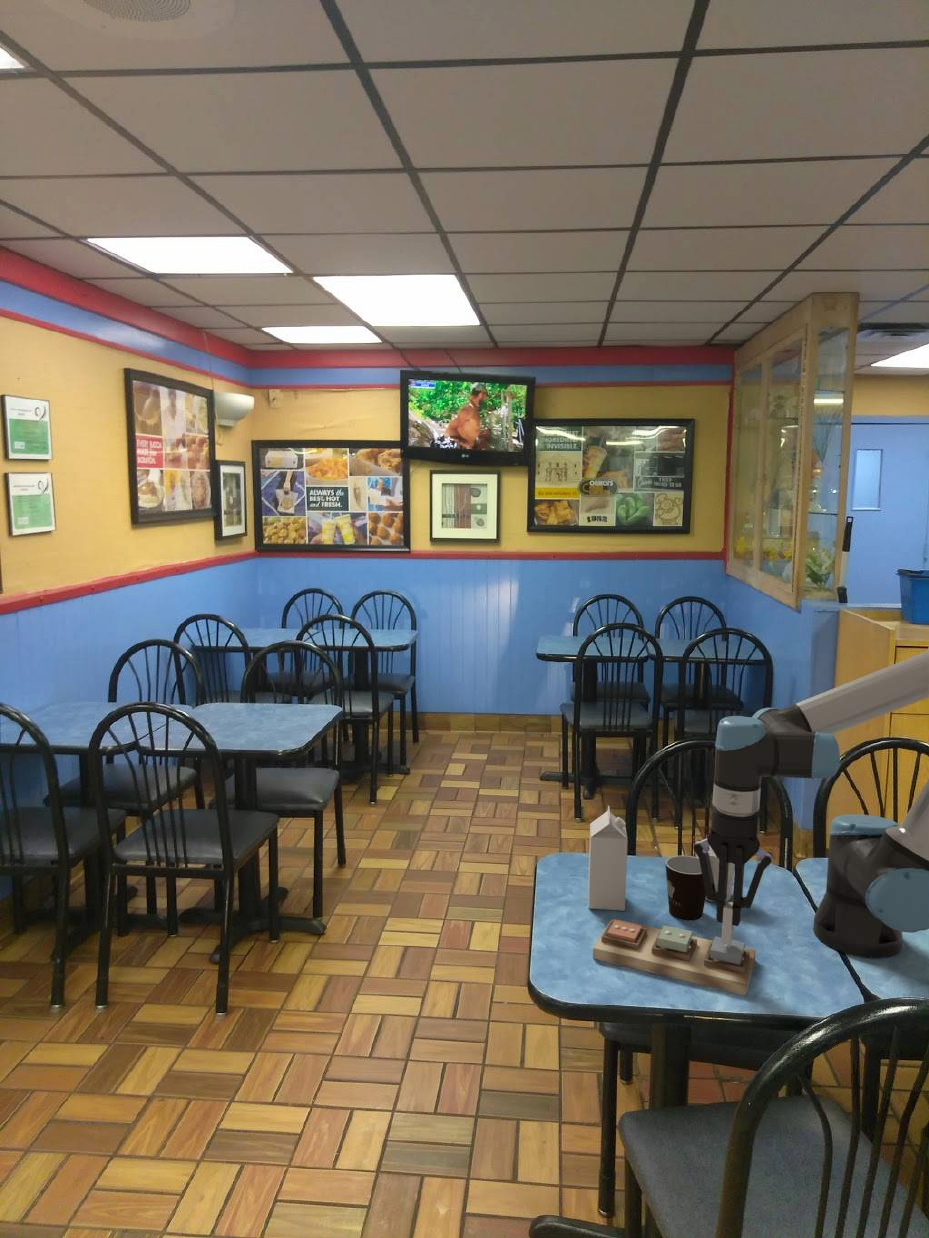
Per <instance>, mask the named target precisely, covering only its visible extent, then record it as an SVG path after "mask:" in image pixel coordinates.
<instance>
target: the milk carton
mask: <svg viewBox="0 0 929 1238" xmlns="http://www.w3.org/2000/svg"><path fill="white" fill-rule="evenodd" d="M626 825H627V823H626V822H625V820H624V819H622V818H621V817H620V816H617V817H616V816H615V815H614V814H613V813H612V812H611V811H610V805H607V810H606V812H604V813H603V814H601V815H600V816H599V817H597V818H596V819H595V820H593V821H592V822H591V823H590V825H589V844H588V845H589V846H588V847H589V848H588V849H589V850H588V852H589V853H588V854H589V855H588V879H587V880H588V882H587V901H588V903H587V904H588V909H593V910H605V911H606V910H608V911H609V910H610V911H623V912H624V911H626V893H627V863H628V861H627V860H628V843H629V842H628V833H627V829H626V828H627V827H626Z"/></svg>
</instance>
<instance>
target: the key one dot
mask: <svg viewBox="0 0 929 1238" xmlns="http://www.w3.org/2000/svg"><path fill="white" fill-rule="evenodd" d="M721 940H722V937H719V936H715V937H714V939H713V940H712V941H713V944H712V947H711V949H710V958H713V959H717V960H721V961H726V962H730V963H734V964H739V965H740V964H741V961H742V957H743V954H744V951H745V948H746V946H745V945H746V943H745V942H743V941H738V940H734V939H732V942H731V945H726V944H721Z"/></svg>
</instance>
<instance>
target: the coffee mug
mask: <svg viewBox="0 0 929 1238" xmlns="http://www.w3.org/2000/svg"><path fill="white" fill-rule="evenodd" d="M664 864H665V875H666V877H665V878H666V888H667V889H666V890H667V902H668V903H667V904H668V913H669V914H670V915H671V916H672V917H673V918H675V919H677V920H680V921H686V922H692V921H693V922H694V921H698V920H700V919H702V917H703V914H704V909H705V903H706V900H705V898H706V892H705V887H704V882H703V877H702V871H701V866H700V861H699V858H696V856H691V855H674V856H671V857H667V859H666V860H665V863H664Z"/></svg>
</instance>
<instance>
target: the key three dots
mask: <svg viewBox="0 0 929 1238" xmlns="http://www.w3.org/2000/svg"><path fill="white" fill-rule="evenodd" d="M616 920H617V919H616ZM616 920H615V921H614V923H613V924H612V926H611V927H610V929H609V931H608V932H607V937H612V938H616V939H621V940H625V941H629V942H634V943H636V942H637V940H638V938H639V937H640V935H641V933H642V926H639V925H640V924H639V925H634V924H630V923H631V922H630V923H625V922H626V921H625V922H621V921H622V920H621V921H616Z"/></svg>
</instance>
